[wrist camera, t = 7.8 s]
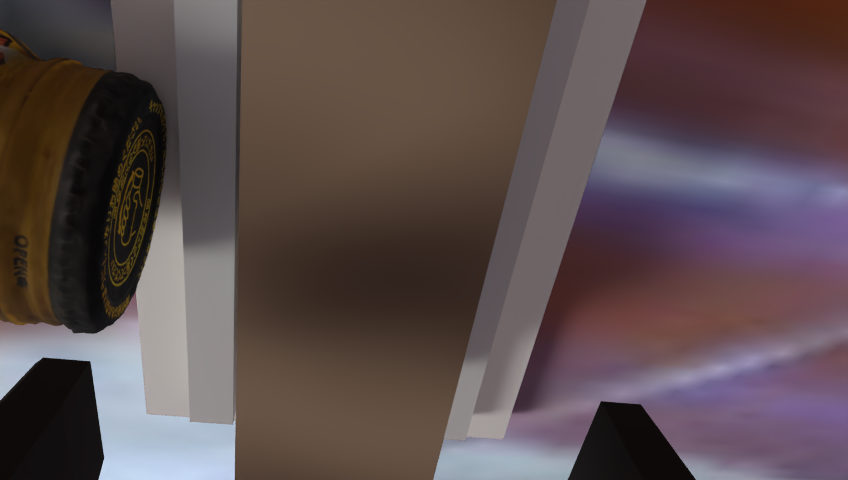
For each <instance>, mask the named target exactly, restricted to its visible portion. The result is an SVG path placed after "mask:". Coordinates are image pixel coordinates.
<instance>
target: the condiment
mask: <svg viewBox="0 0 848 480" xmlns="http://www.w3.org/2000/svg"><path fill="white" fill-rule="evenodd" d="M165 125H166V120H165V111H164V108H163V105H162V102H161V100H160V99H159V97H158V96H157V93H156V91H155V89H154V88H153V86H152V84H150V83H149V82H147V81H143V80H140V79H139V78H138V77H136V76H135V75H133V74H130V73H125V72H114V71H112V70H106V71H104V70H102V69H94V68H89V67H85V66H83V65H82V64H81V63H80V62H79V61H75V60H71V59H68V58H54V59H50V60H47V61H43V60H42V59H40V58H39V57H38V56H37V55H35V54H34V53H33V52H32V51H31V50H30V49H29V48H28V47H27V46H26V45H25V44H24V43H22V42H21V41H20V40H19V39H17V38H16V37H14V36H13V35H11V34H9V33H8V32H6V31H4V30H2V29H0V320H1V321H4V322H11V323H14V324H16V325H25V324H28V323H30V324H37V323H40V322H44V323H47V324H50V325H54V326H59V325H62V324H64V325H65V326H66V327H67V328H69V329H71V330H72V331H73V333H92V334H93V333H97V332H99V331H101V330H103V329H104V328H106V327H107V326H110V325H112V324H113V323H114V322H115V321H116V320H117V319H119V318H120V317H121V315H122V314H123V313H124V311H125V309H126V308H127V306H128V305H129V302H130V300H131V299H132V297H133V295H134V293H135V292H136V289H137V285H138V282H139V280H140V277H141V273H142V270H143V268H144V266H145V262H146V259H147V256H148V252H149V250H150V245H151V241H152V236H153V232H154V229H155V224H156V219H157V215H158V209H159V205H160V197H161V192H162V187H163V178H164V170H165V158H166V140H167V138H166V126H165Z"/></svg>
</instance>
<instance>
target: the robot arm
mask: <svg viewBox="0 0 848 480" xmlns="http://www.w3.org/2000/svg"><path fill="white" fill-rule="evenodd" d="M103 460H104V454H103V447H102V440H101V433H100V426H99V419H98V412H97V405H96V398H95V391H94V384H93V377H92V370H91V363H90V361H78V360H66V359H53V358H42V359H41V360H40V361H38V362H37V363H35V364H34V366H33V367H32V368H31V369H30V370H29V371H28V372H27V373H26V374H25V375H24V376H23V377H22V378H21V379H20V380H19V381H18V382H17V384H16V385H15V386H14V387H13V388H12V389H11V390H10V391H9V392H8V393H7V394H6V395H5V396H4V397H3V398H2V399H1V400H0V480H98V479H99V475H100V471H101V468H102V464H103ZM568 480H696V479H695V478H694V476H693V475H692V474H691V472H690V471H689V470H688V468H687V467H686V466H685V464H684V463H683V462H682V460H681V459H680V457H679V456H678V455H677V453H676V452H675V451H674V449H673V448H672V446H671V445H670V444H669V442H668V441H667V440H666V438H665V437H664V435H663V434H662V433H661V431H660V430H659V429H658V427H657V426H656V425H655V423H654V422H653V420H652V419H651V418H650V416H649V415H648V414H647V412H646V411H645V410H644V408H643V407H642V406H641V405H640V404H627V403H615V402H602V401H601V403H600V405H599V407H598V410H597V412H596V414H595V417H594V419H593V422H592V424H591V426H590V429H589V431H588V433H587V436H586V438H585V440H584V443H583V445H582V448H581V450H580V452H579V455H578V457H577V459H576V462H575V464H574V466H573V469H572V471H571V474H570V476H569V478H568Z"/></svg>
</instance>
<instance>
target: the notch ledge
mask: <svg viewBox="0 0 848 480" xmlns="http://www.w3.org/2000/svg"><path fill="white" fill-rule="evenodd" d="M646 1H647V0H557V2H556V6H555V10H554V14H553V18H552V22H551V25H550V29H549V33H548V37H547V41H546V45H545V49H544V53H543V56H542V60H541V64H540V68H539V72H538V76H537V80H536V83H535V87H534V91H533V95H532V99H531V103H530V107H529V111H528V114H527V118H526V122H525V126H524V130H523V134H522V138H521V141H520V145H519V149H518V153H517V157H516V161H515V165H514V169H513V172H512V176H511V180H510V184H509V188H508V192H507V196H506V199H505V203H504V207H503V211H502V215H501V219H500V223H499V227H498V230H497V234H496V238H495V242H494V246H493V250H492V254H491V257H490V261H489V265H488V269H487V273H486V277H485V281H484V285H483V288H482V292H481V296H480V300H479V304H478V308H477V312H476V315H475V319H474V323H473V327H472V331H471V335H470V339H469V343H468V346H467V350H466V354H465V358H464V362H463V366H462V370H461V373H460V377H459V381H458V385H457V389H456V393H455V397H454V401H453V404H452V408H451V412H450V416H449V420H448V424H447V428H446V431H445V435H444V439H446V440H460V441H465V440H466V437H479V438H493V439H503V438H504V435H505V432H506V429H507V426H508V422H509V419H510V416H511V413H512V410H513V407H514V404H515V401H516V398H517V395H518V392H519V389H520V386H521V383H522V380H523V377H524V374H525V371H526V367H527V364H528V361H529V358H530V355H531V352H532V349H533V346H534V343H535V340H536V337H537V334H538V331H539V328H540V325H541V322H542V319H543V315H544V312H545V309H546V306H547V303H548V300H549V297H550V294H551V291H552V288H553V285H554V282H555V279H556V276H557V273H558V270H559V267H560V264H561V260H562V257H563V254H564V251H565V248H566V245H567V242H568V239H569V236H570V233H571V230H572V227H573V224H574V221H575V218H576V215H577V212H578V208H579V205H580V202H581V199H582V196H583V193H584V190H585V187H586V184H587V181H588V178H589V175H590V172H591V169H592V166H593V163H594V160H595V157H596V153H597V150H598V147H599V144H600V141H601V138H602V135H603V132H604V129H605V126H606V123H607V120H608V117H609V114H610V111H611V108H612V105H613V102H614V98H615V95H616V92H617V89H618V86H619V83H620V80H621V77H622V74H623V71H624V68H625V65H626V62H627V59H628V56H629V53H630V50H631V46H632V43H633V40H634V37H635V34H636V31H637V28H638V25H639V22H640V19H641V16H642V13H643V10H644V7H645V4H646ZM111 11H112V23H113V34H114V46H115V57H116V69H117V72H125V73H130V74H133V75H135V76H136V77H138V78H139V79H140V80H143V81H147V82H149V83H150V84H152V86H153V88H154V89H155V91H156V93H157V96H158V97H159V99H160V100H161V102H162V105H163V108H164V111H165V120H166V125H165V126H166V138H167V140H166V158H165V170H164V178H163V187H162V192H161V197H160V205H159V209H158V215H157V219H156V224H155V229H154V232H153V236H152V241H151V245H150V250H149V252H148V256H147V259H146V262H145V266H144V268H143V270H142V273H141V277H140V280H139V282H138V285H137V289H136V297H137V309H138V320H139V332H140V343H141V355H142V366H143V377H144V389H145V400H146V412H147V414H153V415H167V416H181V417H190V422H203V423H217V424H232V425H233V421H234V420H236V371H237V305H238V238H239V172H240V106H241V40H242V0H111Z"/></svg>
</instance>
